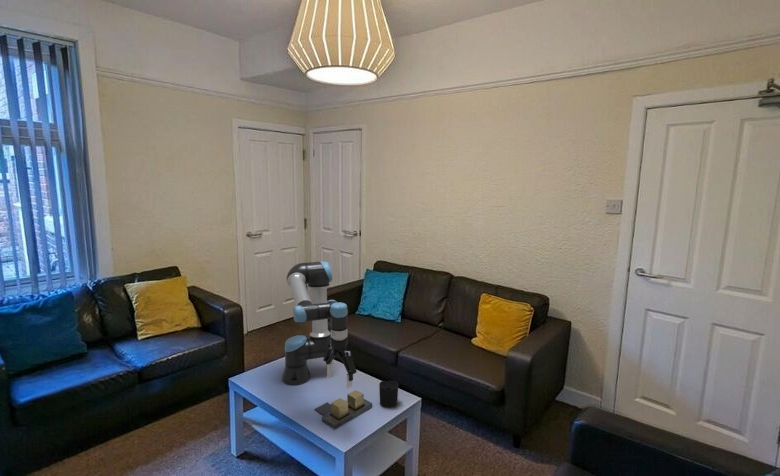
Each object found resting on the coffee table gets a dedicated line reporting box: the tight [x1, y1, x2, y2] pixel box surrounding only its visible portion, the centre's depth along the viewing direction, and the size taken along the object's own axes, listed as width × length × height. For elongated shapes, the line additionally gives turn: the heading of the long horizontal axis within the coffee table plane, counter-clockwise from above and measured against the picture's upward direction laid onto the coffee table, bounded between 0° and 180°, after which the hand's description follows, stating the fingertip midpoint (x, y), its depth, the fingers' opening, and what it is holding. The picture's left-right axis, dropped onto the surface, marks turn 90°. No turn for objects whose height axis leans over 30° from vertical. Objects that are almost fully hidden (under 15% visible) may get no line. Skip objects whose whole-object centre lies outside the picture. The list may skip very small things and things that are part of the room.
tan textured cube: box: [330, 397, 348, 421], centre depth 182 cm, size 6×6×8 cm
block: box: [346, 389, 365, 411], centre depth 190 cm, size 6×6×8 cm
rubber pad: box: [313, 402, 331, 417], centre depth 189 cm, size 8×8×1 cm
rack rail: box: [321, 398, 373, 430], centre depth 186 cm, size 9×24×2 cm, turn 138°
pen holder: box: [378, 380, 399, 409], centre depth 195 cm, size 9×9×10 cm
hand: (339, 381), depth 180 cm, fingers open, 13 cm apart
